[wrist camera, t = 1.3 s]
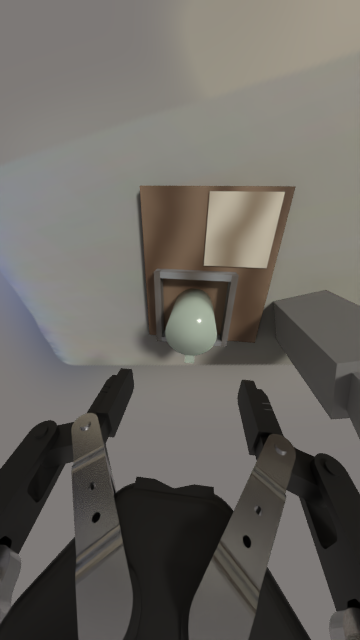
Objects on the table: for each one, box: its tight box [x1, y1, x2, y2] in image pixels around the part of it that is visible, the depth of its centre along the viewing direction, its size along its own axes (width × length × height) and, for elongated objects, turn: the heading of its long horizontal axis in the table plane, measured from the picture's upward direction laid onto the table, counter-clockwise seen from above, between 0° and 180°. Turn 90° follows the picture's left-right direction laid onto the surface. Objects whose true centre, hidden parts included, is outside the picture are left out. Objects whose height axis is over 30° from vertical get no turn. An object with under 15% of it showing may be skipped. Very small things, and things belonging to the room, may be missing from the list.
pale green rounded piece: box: [165, 288, 217, 363], centre depth 23 cm, size 6×8×8 cm
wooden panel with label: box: [140, 186, 295, 347], centre depth 24 cm, size 17×20×3 cm
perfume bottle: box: [273, 290, 360, 439], centre depth 18 cm, size 7×7×18 cm
